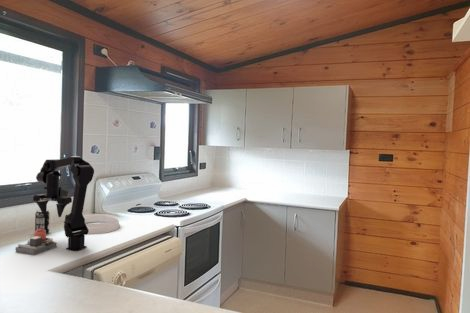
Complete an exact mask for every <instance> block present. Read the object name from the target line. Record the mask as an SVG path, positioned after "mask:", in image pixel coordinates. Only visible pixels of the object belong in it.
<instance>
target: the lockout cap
mask: <svg viewBox="0 0 470 313" xmlns="http://www.w3.org/2000/svg"><path fill="white" fill-rule="evenodd" d="M36 236H38V237H41V238H42V241H45V240H46V238H47V233H46V230H44V229H38V230H37V231H35V230H34V237H36Z"/></svg>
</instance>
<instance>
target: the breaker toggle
mask: <svg viewBox="0 0 470 313" xmlns="http://www.w3.org/2000/svg"><path fill="white" fill-rule="evenodd" d="M29 240H30V246H35V247H36V246H39V245H42V238H41V237H38V236H36V237H35V236H32V237H31V238H30V239H29Z"/></svg>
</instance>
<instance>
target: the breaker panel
mask: <svg viewBox="0 0 470 313" xmlns="http://www.w3.org/2000/svg"><path fill="white" fill-rule="evenodd" d="M26 242H27V243H26V244H23V243H18V244H17V245H18V246H16V247H15V253H21V254H27V255H32V256H33V255H37V254H40V253H43V252H46V251H48V250H52V249H53V248H57V245H58V243H57V242H55V241H54V238H51V237H46V240H45V241H42V245H39V246H36V247H35V246H30V239H28V240H27V241H26Z"/></svg>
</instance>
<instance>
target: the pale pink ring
mask: <svg viewBox="0 0 470 313" xmlns="http://www.w3.org/2000/svg"><path fill="white" fill-rule="evenodd" d="M82 215H83V217H84V219H85V224H86V226H87V228H88V230H89V231H88V234H87V235H91V234H92V235H95V234H96V235H97V234H105V233H109V232H113V231H116V230H118V229H119V228H120V227H119V225H120V221H119V219H118V217H117V216H116V215H113V214H106V213H89V214H82ZM80 231H81V230H80ZM75 232H79V231H75Z"/></svg>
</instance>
